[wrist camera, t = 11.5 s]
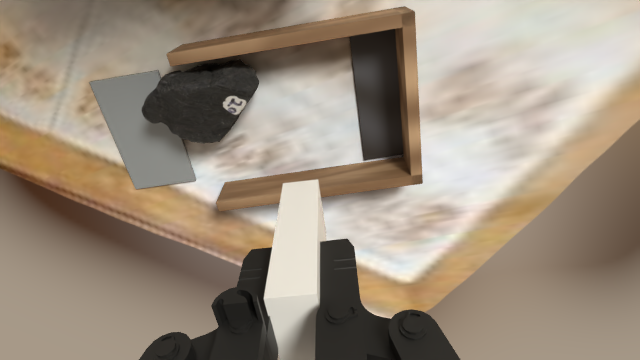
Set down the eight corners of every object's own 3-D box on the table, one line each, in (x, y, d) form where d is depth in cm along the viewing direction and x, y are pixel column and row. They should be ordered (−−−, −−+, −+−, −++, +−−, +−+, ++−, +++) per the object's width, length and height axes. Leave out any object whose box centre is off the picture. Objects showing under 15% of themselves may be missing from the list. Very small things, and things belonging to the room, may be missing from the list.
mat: (90, 81, 45) (89, 82, 45) (158, 70, 45) (157, 70, 44) (136, 188, 52) (135, 189, 52) (196, 179, 51) (195, 180, 51)
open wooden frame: (182, 44, 43) (166, 54, 39) (404, 6, 42) (414, 11, 37) (227, 190, 52) (218, 211, 48) (413, 164, 50) (422, 183, 46)
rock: (119, 63, 39) (184, 111, 35) (208, 33, 46) (270, 71, 42) (134, 125, 45) (192, 173, 41) (211, 91, 51) (267, 130, 47)
